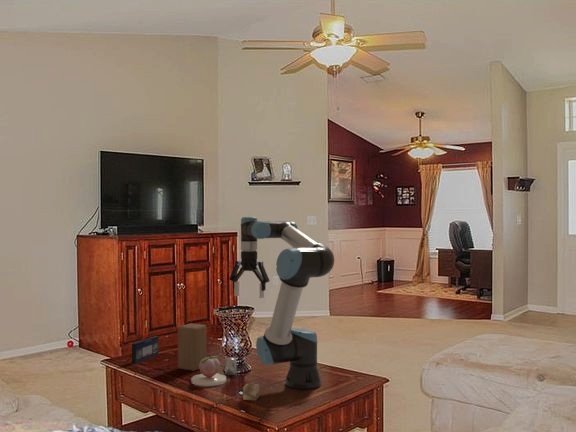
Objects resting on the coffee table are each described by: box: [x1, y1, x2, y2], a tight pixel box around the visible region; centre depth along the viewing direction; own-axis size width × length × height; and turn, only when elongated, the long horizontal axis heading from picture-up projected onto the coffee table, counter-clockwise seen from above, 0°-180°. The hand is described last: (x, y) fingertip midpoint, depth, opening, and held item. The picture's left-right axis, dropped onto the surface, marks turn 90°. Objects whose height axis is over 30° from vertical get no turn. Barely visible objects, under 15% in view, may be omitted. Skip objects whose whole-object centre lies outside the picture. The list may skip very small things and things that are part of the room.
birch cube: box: [242, 383, 260, 401], centre depth 220 cm, size 5×5×5 cm
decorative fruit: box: [198, 354, 221, 378], centre depth 242 cm, size 9×8×10 cm
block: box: [177, 322, 207, 372], centre depth 264 cm, size 10×10×20 cm
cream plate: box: [190, 372, 227, 388], centre depth 242 cm, size 15×15×2 cm
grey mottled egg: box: [224, 356, 237, 377], centre depth 253 cm, size 5×5×7 cm
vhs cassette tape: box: [131, 335, 160, 365], centre depth 279 cm, size 18×3×10 cm, turn 155°
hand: (249, 296), depth 256 cm, fingers open, 13 cm apart
